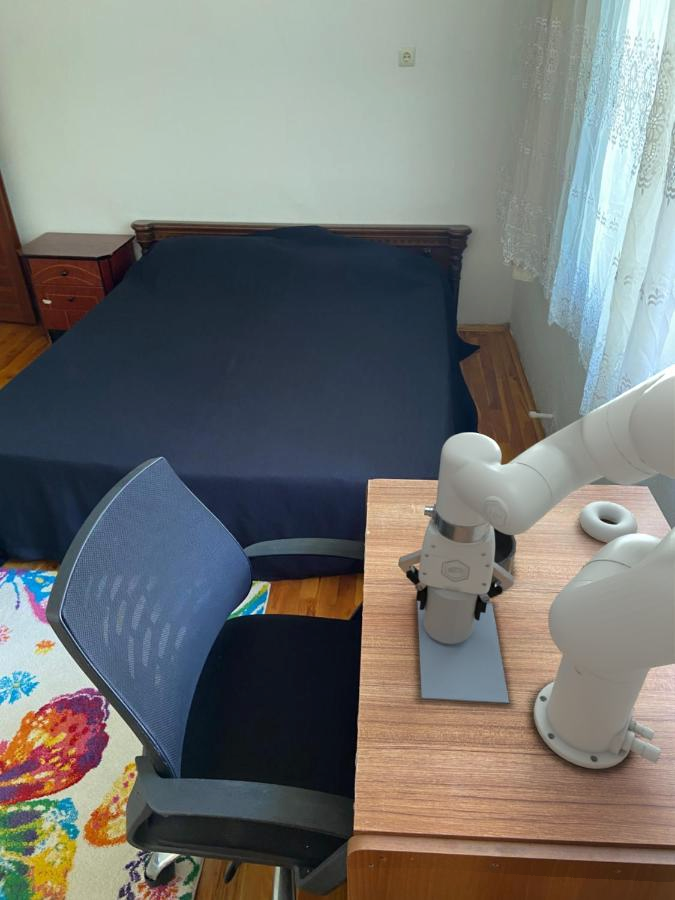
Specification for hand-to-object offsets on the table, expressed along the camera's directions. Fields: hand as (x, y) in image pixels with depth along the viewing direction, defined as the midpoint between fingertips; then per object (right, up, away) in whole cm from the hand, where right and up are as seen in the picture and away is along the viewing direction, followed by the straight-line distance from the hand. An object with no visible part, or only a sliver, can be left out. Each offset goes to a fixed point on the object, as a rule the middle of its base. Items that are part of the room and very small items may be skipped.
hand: (450, 607), depth 97 cm
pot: (+6, +4, +14) cm, 16 cm away
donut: (+33, +9, +22) cm, 40 cm away
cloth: (+1, -6, 0) cm, 6 cm away
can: (0, -4, +3) cm, 5 cm away
